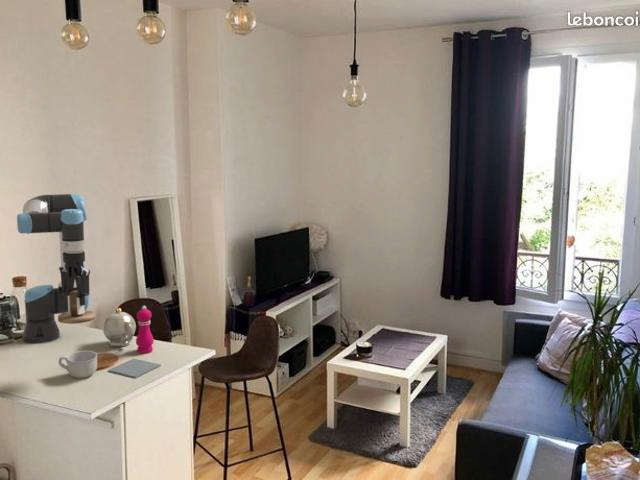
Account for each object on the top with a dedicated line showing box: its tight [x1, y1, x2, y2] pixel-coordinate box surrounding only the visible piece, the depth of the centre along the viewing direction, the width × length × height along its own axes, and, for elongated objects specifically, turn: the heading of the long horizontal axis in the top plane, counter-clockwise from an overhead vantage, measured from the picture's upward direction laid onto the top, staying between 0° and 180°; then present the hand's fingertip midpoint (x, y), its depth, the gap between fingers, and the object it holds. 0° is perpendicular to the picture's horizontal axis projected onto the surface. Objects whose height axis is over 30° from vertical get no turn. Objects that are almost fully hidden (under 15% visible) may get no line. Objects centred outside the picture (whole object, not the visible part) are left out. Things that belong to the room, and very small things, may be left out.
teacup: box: [57, 350, 98, 379], centre depth 223 cm, size 14×11×8 cm
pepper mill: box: [135, 305, 154, 355], centre depth 249 cm, size 7×7×20 cm
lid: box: [57, 291, 96, 325], centre depth 219 cm, size 13×13×10 cm
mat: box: [107, 358, 162, 379], centre depth 231 cm, size 14×14×1 cm
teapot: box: [102, 307, 137, 348], centre depth 256 cm, size 18×14×16 cm
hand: (76, 312), depth 219 cm, fingers closed on lid, 4 cm apart
